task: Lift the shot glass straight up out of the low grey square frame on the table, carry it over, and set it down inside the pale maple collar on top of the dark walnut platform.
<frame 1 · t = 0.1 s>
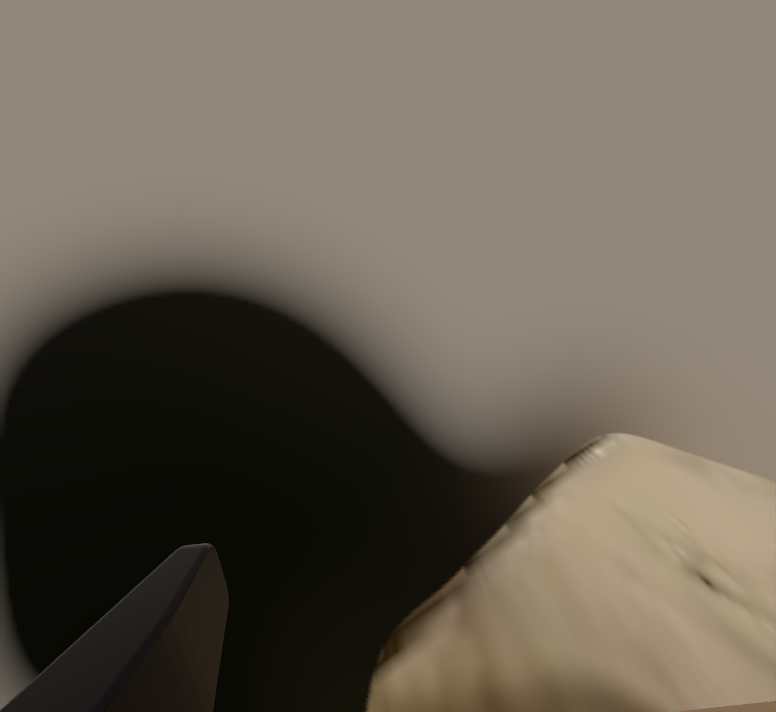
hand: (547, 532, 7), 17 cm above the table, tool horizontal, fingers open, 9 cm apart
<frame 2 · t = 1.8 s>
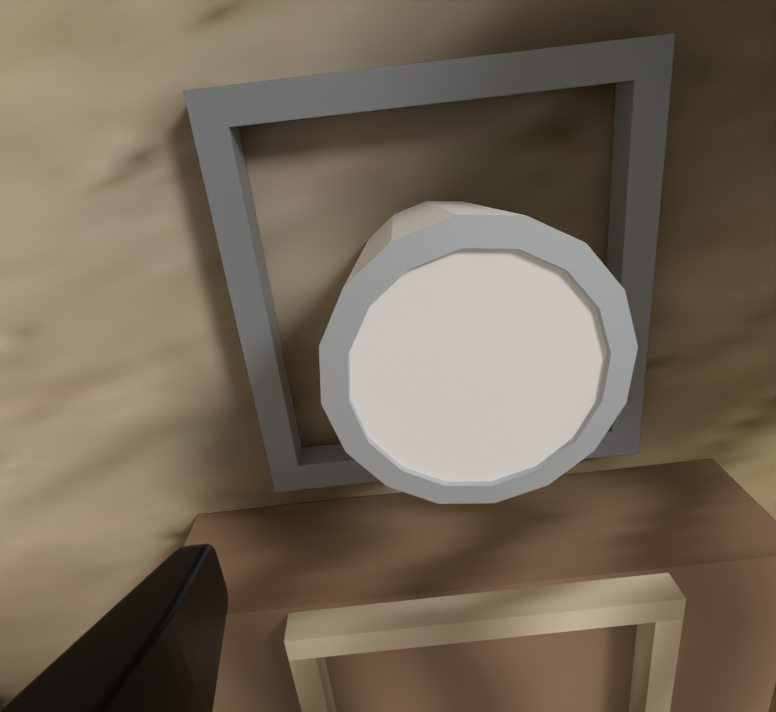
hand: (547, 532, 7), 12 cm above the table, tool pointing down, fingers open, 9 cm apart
shot glass: (438, 285, 18), resting in grey square frame
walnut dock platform: (461, 601, 23), on the table
grey square frame: (439, 287, 18), on the table
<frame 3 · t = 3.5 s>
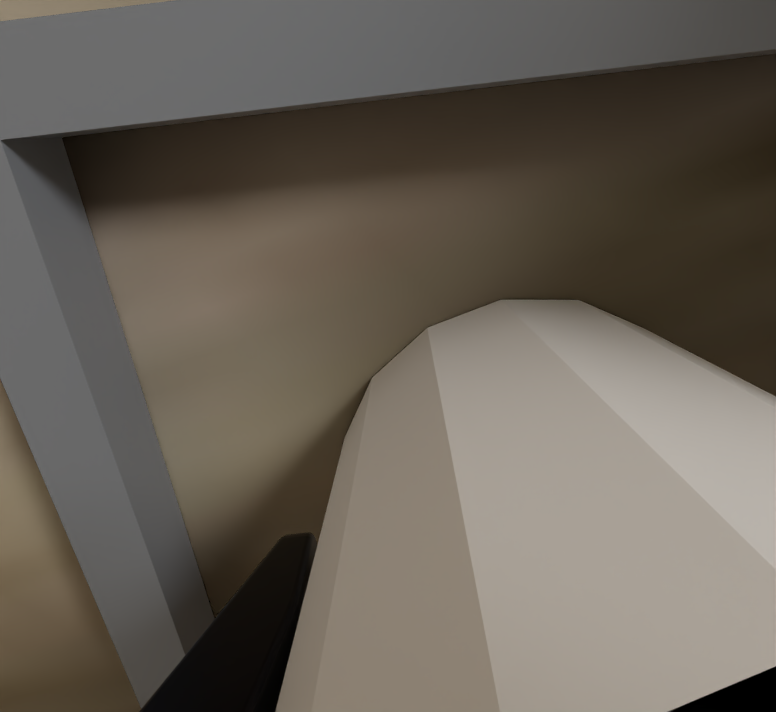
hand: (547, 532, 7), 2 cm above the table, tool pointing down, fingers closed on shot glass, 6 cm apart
shot glass: (515, 458, 9), resting in grey square frame, touching gripper
grey square frame: (518, 466, 9), on the table
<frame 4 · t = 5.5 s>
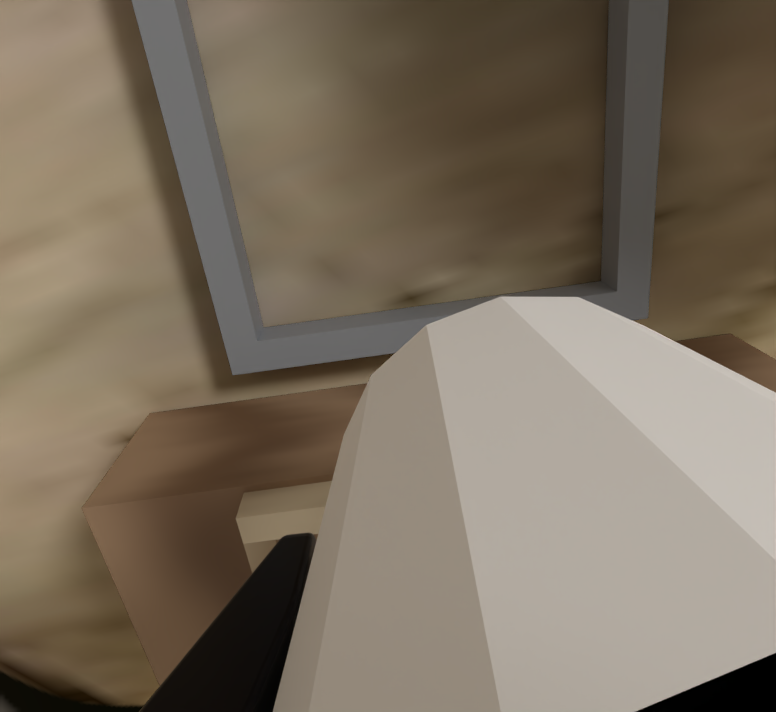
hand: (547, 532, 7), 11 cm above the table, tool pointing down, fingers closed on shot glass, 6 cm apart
shot glass: (514, 456, 9), point 9 cm above the table, touching gripper
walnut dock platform: (453, 513, 21), on the table
grey square frame: (413, 120, 15), on the table
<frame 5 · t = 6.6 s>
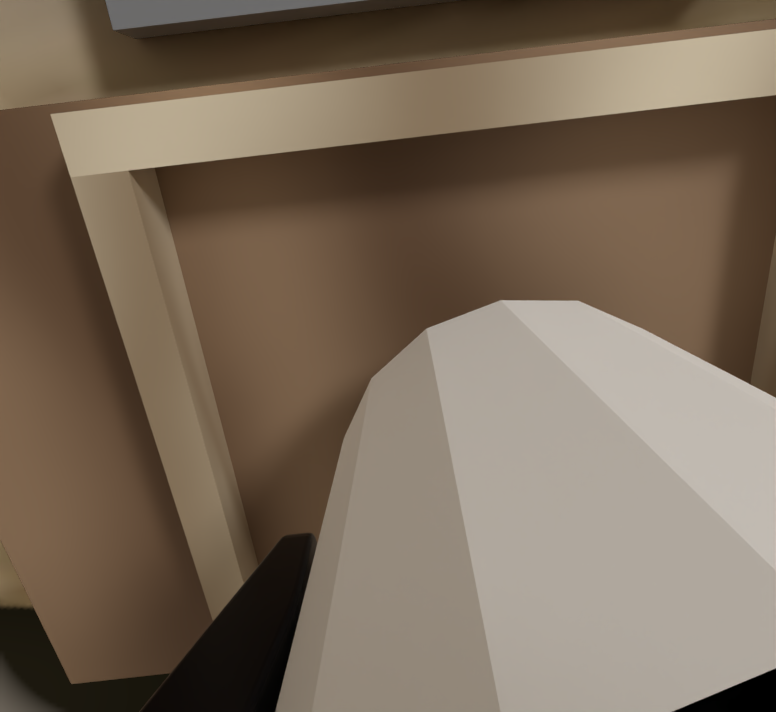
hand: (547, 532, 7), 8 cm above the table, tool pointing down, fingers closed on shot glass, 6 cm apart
shot glass: (514, 459, 9), point 7 cm above the table, touching gripper
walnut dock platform: (449, 323, 15), on the table
when the fingers open (8 cm above the table, at t = 7.5 s): shot glass drops 1 cm, resting on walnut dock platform.
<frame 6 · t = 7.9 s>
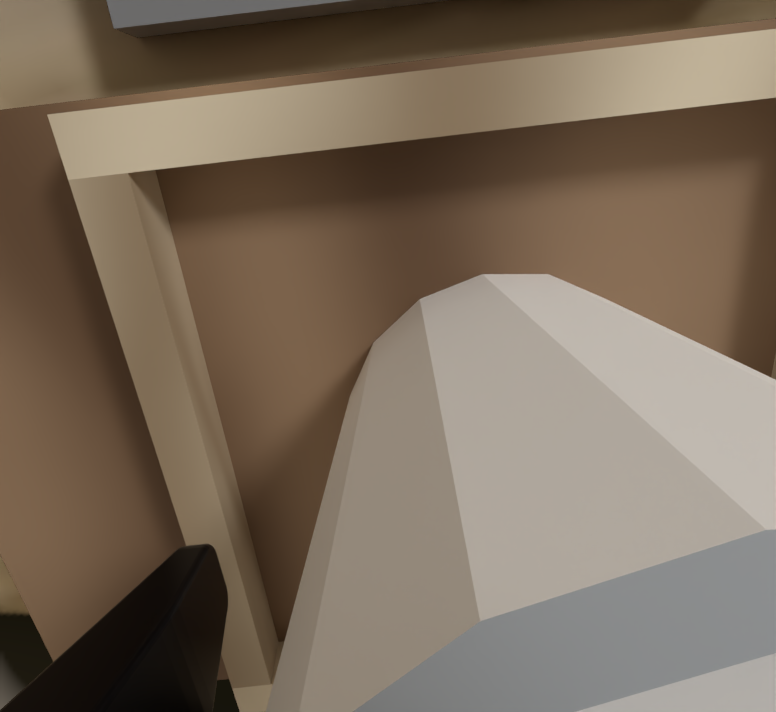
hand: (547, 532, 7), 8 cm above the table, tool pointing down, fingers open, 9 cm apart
shot glass: (498, 415, 10), point 5 cm above the table, touching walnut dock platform
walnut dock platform: (456, 327, 15), on the table
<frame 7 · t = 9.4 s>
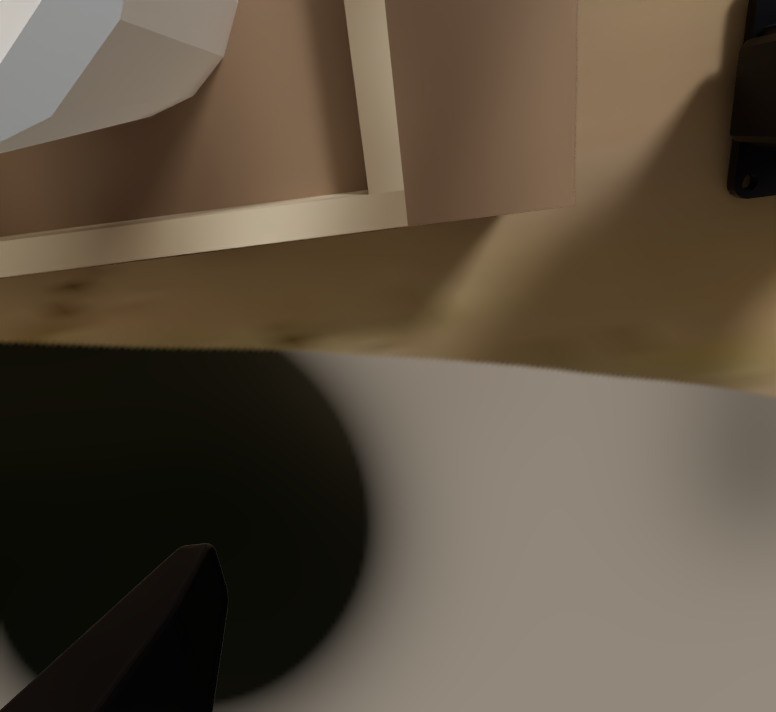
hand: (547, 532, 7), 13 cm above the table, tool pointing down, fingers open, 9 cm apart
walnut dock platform: (175, 15, 16), on the table
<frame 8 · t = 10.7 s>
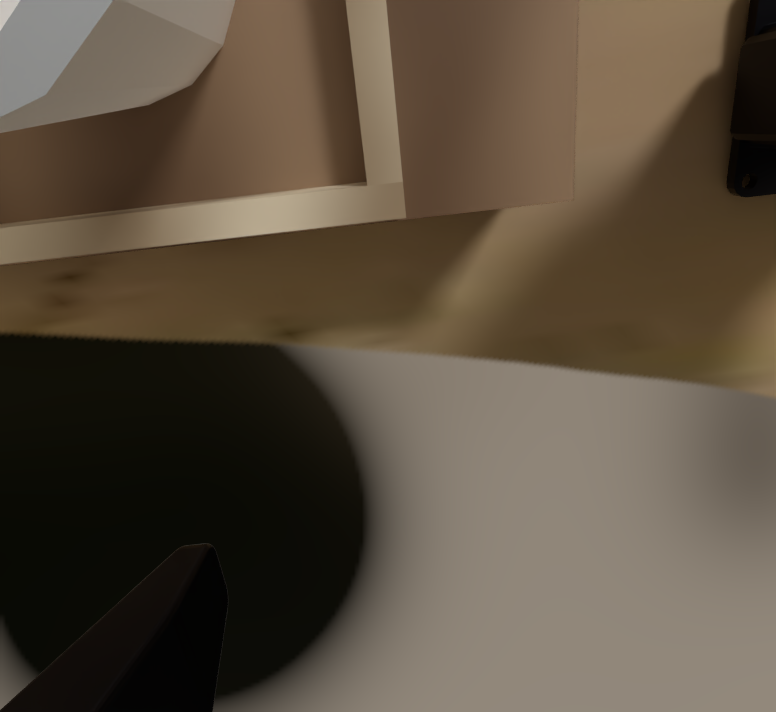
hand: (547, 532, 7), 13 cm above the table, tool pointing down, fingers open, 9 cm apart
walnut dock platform: (176, 5, 16), on the table
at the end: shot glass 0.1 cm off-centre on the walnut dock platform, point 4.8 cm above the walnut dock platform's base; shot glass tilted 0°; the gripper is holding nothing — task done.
